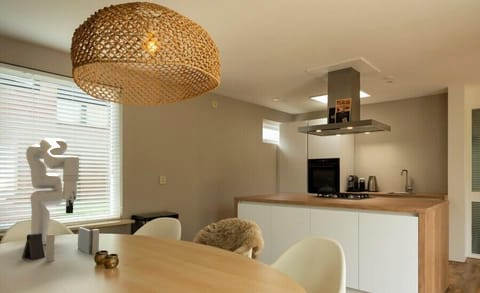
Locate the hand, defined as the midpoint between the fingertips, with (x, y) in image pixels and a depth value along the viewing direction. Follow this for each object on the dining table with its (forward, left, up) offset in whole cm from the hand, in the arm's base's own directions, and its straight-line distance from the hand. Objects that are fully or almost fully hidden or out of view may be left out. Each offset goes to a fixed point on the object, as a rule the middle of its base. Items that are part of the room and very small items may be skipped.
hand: (69, 213), depth 177 cm
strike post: (+11, -10, -21) cm, 26 cm away
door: (+3, +8, -21) cm, 22 cm away
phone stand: (0, -16, -21) cm, 26 cm away
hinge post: (+11, +11, -21) cm, 26 cm away
